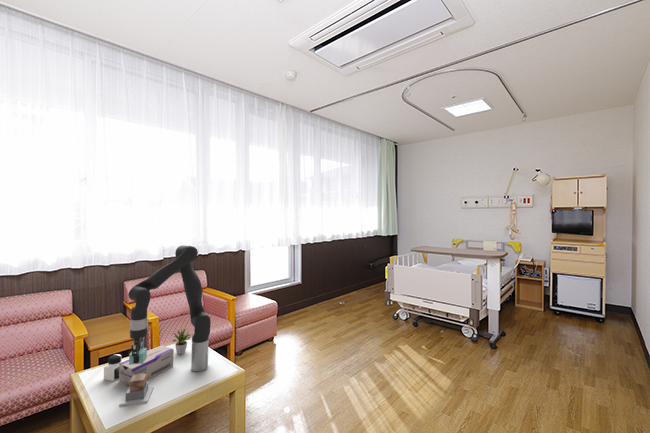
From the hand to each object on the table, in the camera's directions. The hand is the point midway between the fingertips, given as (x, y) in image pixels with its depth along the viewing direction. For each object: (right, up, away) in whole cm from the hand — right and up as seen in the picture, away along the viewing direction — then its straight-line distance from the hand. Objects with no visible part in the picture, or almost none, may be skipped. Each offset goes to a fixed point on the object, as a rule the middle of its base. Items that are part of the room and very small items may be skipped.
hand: (138, 359), depth 151 cm
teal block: (0, -1, 0) cm, 1 cm away
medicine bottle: (-24, -18, +17) cm, 34 cm away
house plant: (-1, -18, +46) cm, 49 cm away
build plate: (-1, -19, +1) cm, 19 cm away
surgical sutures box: (-8, -19, +21) cm, 29 cm away
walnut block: (0, -14, +1) cm, 14 cm away
